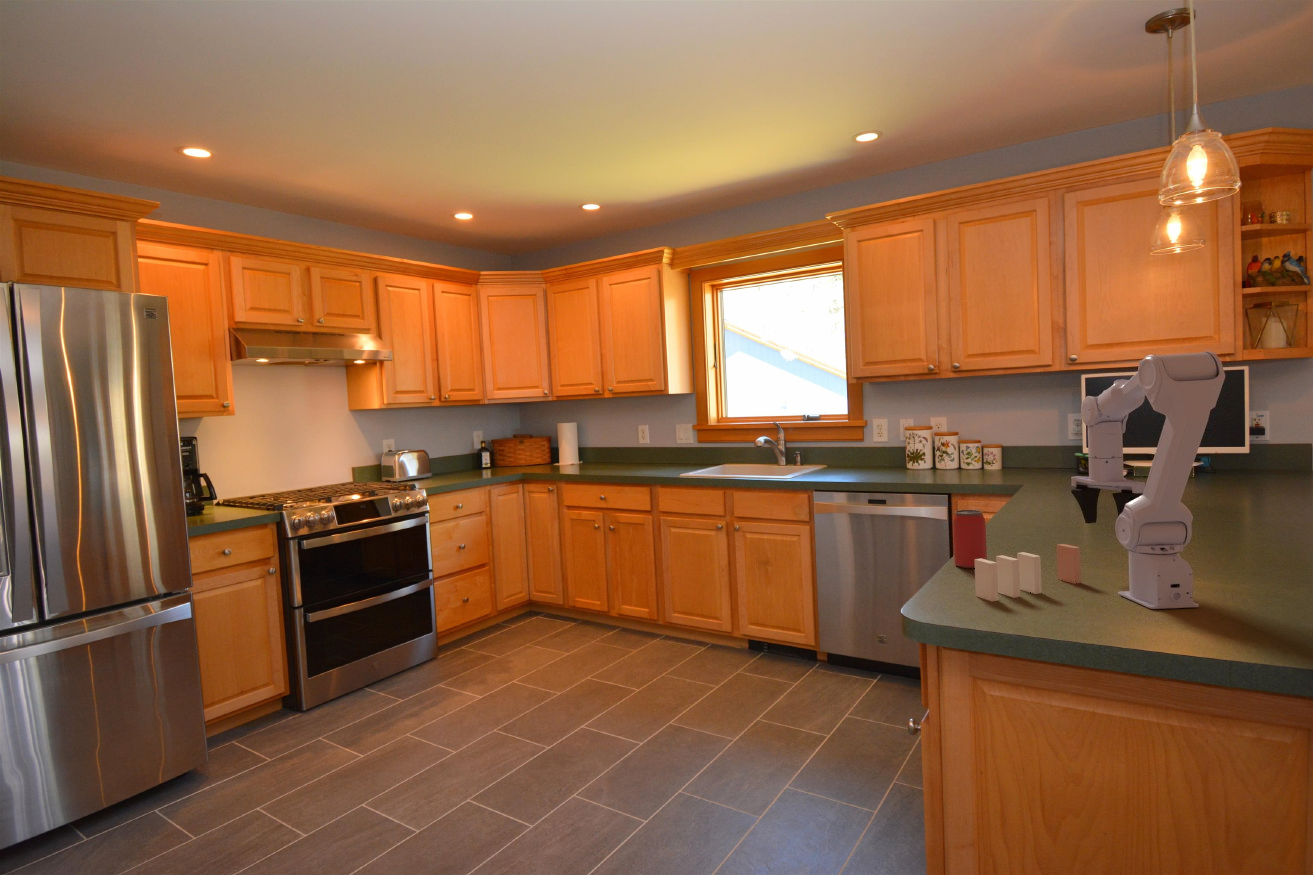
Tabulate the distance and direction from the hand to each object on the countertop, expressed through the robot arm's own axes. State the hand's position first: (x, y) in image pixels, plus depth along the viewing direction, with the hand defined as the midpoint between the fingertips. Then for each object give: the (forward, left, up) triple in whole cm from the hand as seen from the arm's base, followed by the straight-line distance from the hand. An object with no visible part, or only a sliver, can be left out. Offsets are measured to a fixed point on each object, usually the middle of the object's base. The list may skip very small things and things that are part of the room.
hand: (1107, 525), depth 138 cm
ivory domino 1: (-10, +28, -10) cm, 31 cm away
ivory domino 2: (-8, +23, -10) cm, 27 cm away
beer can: (+15, +21, -11) cm, 28 cm away
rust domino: (-1, +8, -10) cm, 13 cm away
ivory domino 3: (-7, +18, -10) cm, 22 cm away
